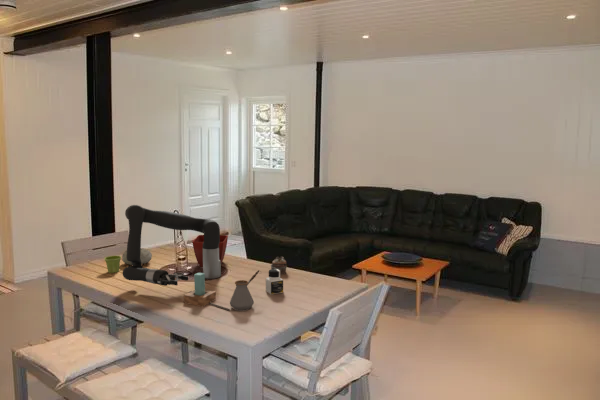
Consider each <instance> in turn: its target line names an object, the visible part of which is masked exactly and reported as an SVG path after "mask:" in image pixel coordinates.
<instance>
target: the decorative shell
mask: <svg viewBox="0 0 600 400" xmlns="http://www.w3.org/2000/svg"><path fill="white" fill-rule="evenodd" d="M152 258H153V253H152V252H151V250H149V249H146V248H143V247H141V254H140V259H141V263H142V265H145V264H147V263H149V262H150V261H151V260H152ZM121 260H122V262H123V263H124V264H126V265H130V266H132V263H131V262H130V261H127V249H126V250H125V251H124V252H123V253H122V254H121Z"/></svg>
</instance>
